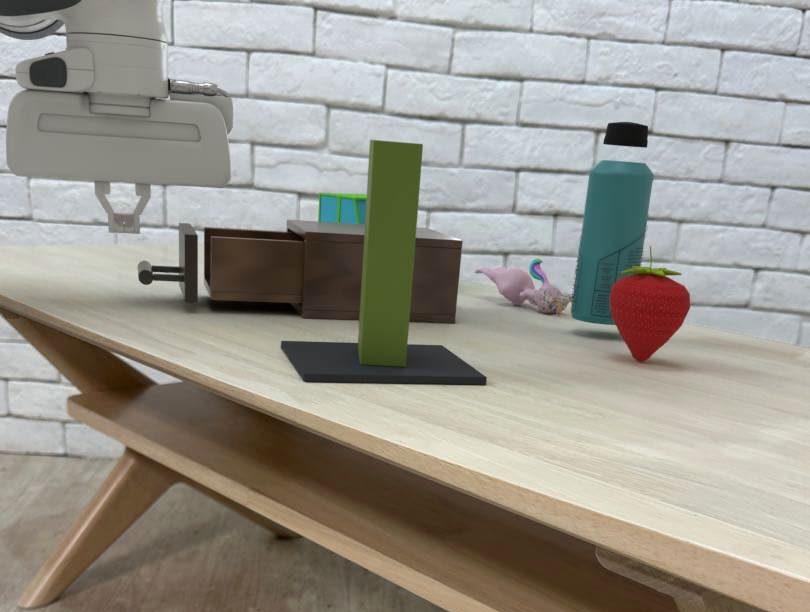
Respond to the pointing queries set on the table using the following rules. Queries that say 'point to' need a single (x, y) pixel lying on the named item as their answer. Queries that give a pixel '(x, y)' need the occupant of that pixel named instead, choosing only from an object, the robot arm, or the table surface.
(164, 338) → the table surface
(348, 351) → the mat
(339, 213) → the blue green-edged box
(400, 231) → the tall olive green pillar
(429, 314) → the cabinet
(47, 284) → the table surface
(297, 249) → the drawer
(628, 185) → the beverage bottle
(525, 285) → the pink elongated figure
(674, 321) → the strawberry
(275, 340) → the table surface
